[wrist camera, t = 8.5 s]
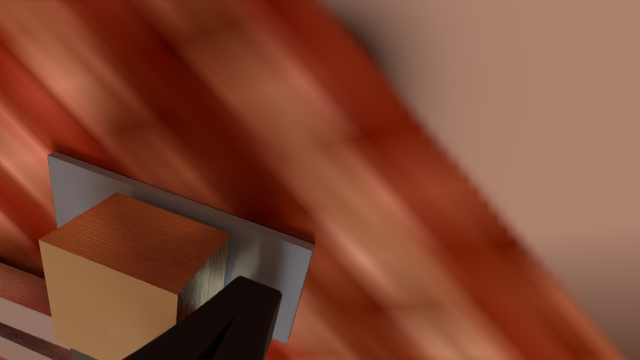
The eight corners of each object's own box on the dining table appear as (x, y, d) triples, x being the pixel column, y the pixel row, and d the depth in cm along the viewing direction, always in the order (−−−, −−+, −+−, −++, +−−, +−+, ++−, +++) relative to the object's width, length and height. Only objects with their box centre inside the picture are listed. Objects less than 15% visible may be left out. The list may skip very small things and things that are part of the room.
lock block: (218, 322, 12) (171, 392, 10) (120, 282, 12) (55, 341, 10) (230, 234, 10) (177, 295, 8) (117, 192, 11) (38, 239, 8)
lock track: (290, 336, 12) (286, 343, 12) (68, 248, 13) (60, 253, 13) (314, 244, 10) (312, 251, 10) (56, 151, 11) (46, 155, 11)
